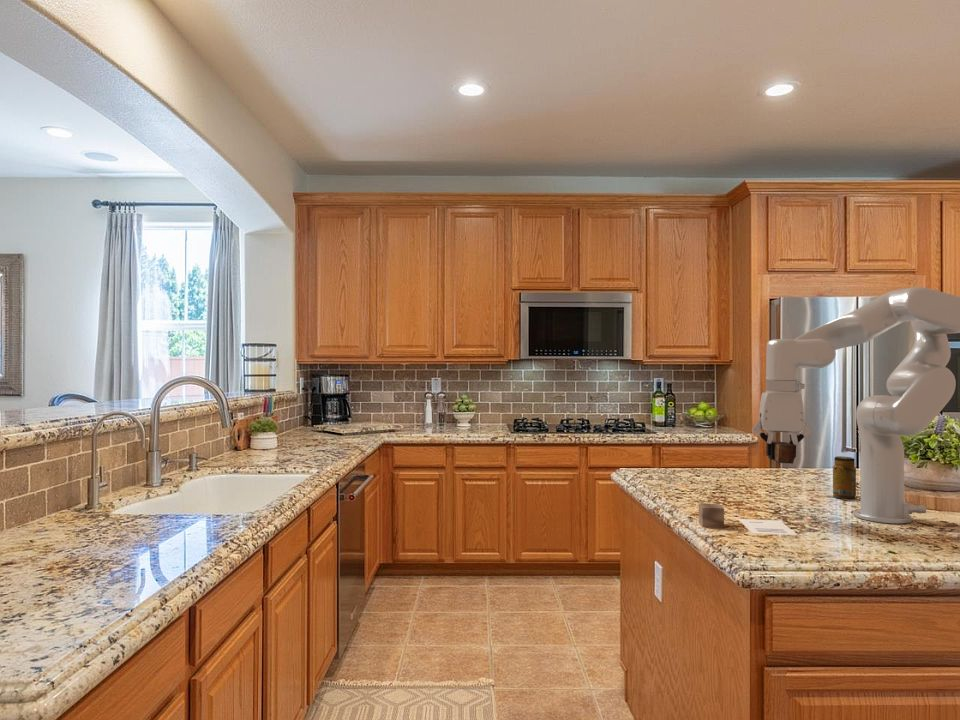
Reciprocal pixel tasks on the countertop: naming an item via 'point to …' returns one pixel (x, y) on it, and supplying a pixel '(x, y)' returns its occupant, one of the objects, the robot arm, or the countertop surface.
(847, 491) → the condiment
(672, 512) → the countertop surface
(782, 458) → the brick
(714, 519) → the walnut block
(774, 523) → the letter
